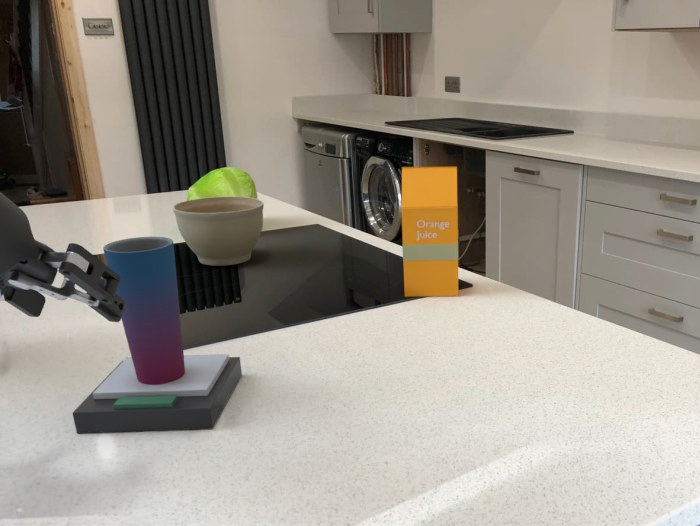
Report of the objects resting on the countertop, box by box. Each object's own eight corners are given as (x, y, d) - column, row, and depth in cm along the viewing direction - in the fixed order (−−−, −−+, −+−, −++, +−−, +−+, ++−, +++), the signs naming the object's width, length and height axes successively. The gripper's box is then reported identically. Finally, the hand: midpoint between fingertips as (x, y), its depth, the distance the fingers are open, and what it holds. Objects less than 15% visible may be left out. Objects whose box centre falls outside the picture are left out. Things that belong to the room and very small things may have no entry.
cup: (120, 374, 82) (94, 243, 77) (180, 358, 86) (159, 233, 81) (140, 393, 77) (114, 255, 72) (203, 376, 82) (183, 244, 76)
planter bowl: (197, 277, 130) (188, 216, 126) (170, 258, 142) (161, 202, 138) (282, 262, 139) (277, 204, 135) (250, 246, 151) (244, 192, 147)
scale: (76, 433, 76) (70, 405, 75) (125, 378, 89) (121, 353, 88) (212, 428, 77) (208, 401, 76) (242, 374, 90) (239, 350, 89)
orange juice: (458, 296, 118) (457, 170, 111) (404, 297, 118) (399, 170, 111) (458, 282, 125) (457, 162, 118) (406, 282, 125) (402, 163, 118)
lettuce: (208, 242, 154) (200, 177, 149) (181, 225, 170) (172, 166, 165) (278, 232, 162) (271, 170, 157) (246, 217, 178) (239, 160, 173)
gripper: (45, 172, 54) (159, 278, 68) (-115, 168, 57) (27, 272, 71) (7, 261, 51) (135, 352, 66) (-160, 252, 54) (-2, 342, 68)
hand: (79, 310), depth 68 cm, fingers open, 8 cm apart
